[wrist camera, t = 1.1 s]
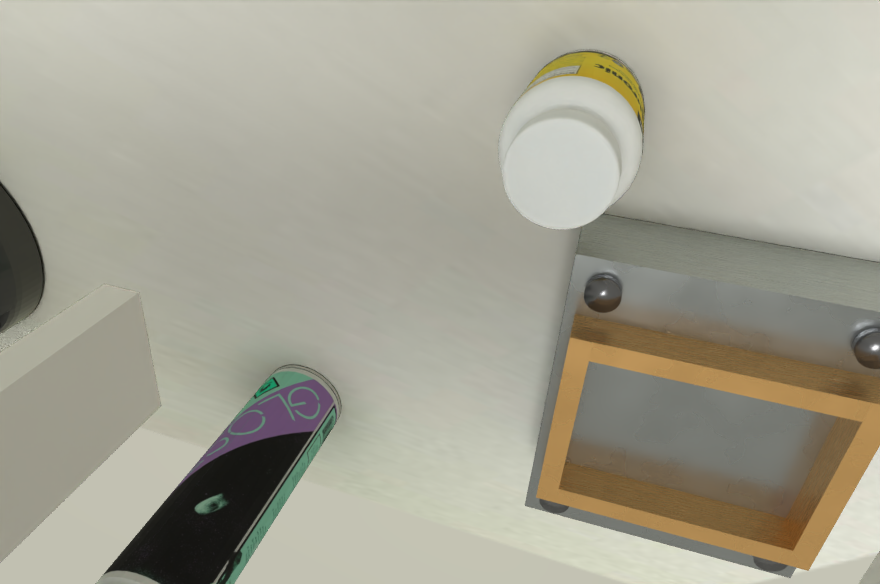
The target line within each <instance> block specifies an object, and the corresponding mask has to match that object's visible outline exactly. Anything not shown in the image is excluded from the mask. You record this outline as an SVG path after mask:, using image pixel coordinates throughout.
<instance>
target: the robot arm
mask: <svg viewBox="0 0 880 584" xmlns="http://www.w3.org/2000/svg"><path fill="white" fill-rule="evenodd" d="M42 286H43V273H42V265H41V260H40V256H39V252H38V249H37V246H36V243H35V241H34V238H33V236H32V234H31V231H30V229H29V227H28V225H27V223H26V222H25V220H24V218H23V216H22V215H21V213H20V211H19V210H18V208H17V207H16V205H15V204H14V202H13V201H12V200H11V198H10V197H9V196H8V194H7V193H6V192H5V191H4V189H3V188H2V187H1V186H0V334H1V333H3V332H4V331H6V330H7V329H9V328H11V327H12V326H14V325H15V324H17V323H19V322H20V321H22V320H23V319H25V318H26V317H28V316H29V315H30V314H31V313H32V312H33V311H34V309H35V308H36V306H37V304H38V302H39V300H40V297H41V293H42ZM160 407H161V402H160V396H159V391H158V386H157V381H156V376H155V371H154V365H153V360H152V355H151V350H150V345H149V340H148V334H147V329H146V324H145V319H144V314H143V309H142V303H141V298H140V293H139V292H136V291H132V290H128V289H124V288H120V287H116V286H111V285H107V284H103V285H102V286H100V287H99V288H97V289H96V290H94V291H93V292H91V293H90V294H88V295H87V296H85V297H83V298H82V299H80V300H79V301H77V302H76V303H74V304H73V305H71V306H70V307H68V308H67V309H65V310H64V311H62V312H61V313H59V314H58V315H56V316H55V317H53V318H52V319H50V320H49V321H47V322H46V323H44V324H42V325H41V326H39V327H38V328H36V329H35V330H33V331H32V332H30V333H29V334H27V335H26V336H24V337H23V338H21V339H20V340H18V341H17V342H15V343H14V344H12V345H11V346H9V347H8V348H6V349H5V350H3V351H2V352H0V563H1V562H2V561H3V560H4V559H5V558H6V557H7V556H8V555H9V554H10V553H11V552H12V551H13V550H14V549H15V548H16V547H17V546H18V545H19V544H20V543H21V542H22V541H23V540H24V539H25V538H26V537H27V536H28V535H30V533H31V532H33V530H35V529H36V528H37V527H38V526H39V525H40V524H41V523H42V522H43V521H44V520H45V519H46V518H47V517H48V516H49V515H50V514H51V513H52V512H53V511H54V510H55V509H56V508H57V507H58V506H59V505H60V504H61V503H62V502H63V501H64V500H65V499H66V498H67V497H68V496H69V495H70V494H71V493H72V492H74V491H75V490H76V488H77V487H79V486H80V485H81V484H82V483H83V482H84V481H85V480H86V479H87V478H88V477H89V476H90V475H91V474H92V473H93V472H94V471H95V470H96V469H97V468H98V467H99V466H100V465H101V464H102V463H103V462H104V461H105V460H106V459H107V458H108V457H109V456H110V455H111V454H112V453H113V452H114V451H116V449H118V447H120V445H122V444H123V443H124V442H125V441H126V440H127V439H128V438H129V437H130V436H131V435H132V434H133V433H134V432H135V431H136V430H137V429H138V428H139V427H140V426H141V425H142V424H143V423H144V422H145V421H146V420H147V419H148V418H149V417H150V416H151V415H152V414H153V413H154V412H155V411H156V410H158V409H159V408H160ZM859 584H880V551H879V553H878V554H877V556H876V558H875V559H874V560H873V562H872V564H871V565H870V567H869V568H868V570H867V571H866V573H865V575H864V576H863V578H862V579H861V581H860V582H859Z"/></svg>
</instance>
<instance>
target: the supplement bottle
mask: <svg viewBox="0 0 880 584" xmlns="http://www.w3.org/2000/svg"><path fill="white" fill-rule="evenodd" d="M644 113H645V107H644V98H643V93H642V89H641V86H640V84H639V82H638V80H637V78H636V76H635V75H634V73H633V72H632V71H631V70H630V68H629V67H628V66H627V65H626V64H624V63H623V62H622V61H621V60H619V59H618V58H616V57H614V56H612V55H610V54H608V53H605V52H601V51H596V50H580V51H574V52H570V53H567V54H564V55H562V56H560V57H558V58H556V59H555V60H553V61H551V62H550V63H549V64H547V65H546V66H545V67H544V68H543V69H542V70H541V71H540V72H539V73H538V74H537V75H536V76H535V78H534V79H533V81H532V82H531V83H530V84H529V86H528V87H527V88H526V90H525V91H524V92H523V94H522V95H521V96H520V98H519V99H518V100H517V101H516V103H515V104H514V105H513V107H512V108H511V110H510V111H509V113H508V115H507V117H506V119H505V121H504V124H503V126H502V129H501V133H500V137H499V145H498V155H499V163H500V167H501V171H502V174H503V184H504V188H505V191H506V194H507V196H508V198H509V200H510V202H511V203H512V205H513V206H514V207H515V209H516V210H517V211H518V212H519V213H520V214H521V215H523V216H524V217H525V218H526V219H528V220H529V221H531V222H533V223H535V224H537V225H539V226H542V227H546V228H549V229H556V230H565V229H573V228H577V227H581V226H584V225H586V224H588V223H590V222H592V221H593V220H595V219H596V218H598V217H599V216H600V215H601V214H602V213H603V212H604V211H605V210H606V209H607V208H608V207H609V206H611V205H612V204H614V203H615V202H616V201H617V200H618V199H620V198H621V197H622V196H623V194H624V193H625V192H626V191H627V190H628V188H629V187H630V186H631V184H632V182H633V181H634V179H635V177H636V175H637V172H638V169H639V166H640V162H641V157H642V153H643V133H644Z"/></svg>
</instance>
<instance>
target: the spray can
mask: <svg viewBox="0 0 880 584" xmlns="http://www.w3.org/2000/svg"><path fill="white" fill-rule="evenodd" d="M340 413H341V403H340V399H339V396H338V394H337V392H336V390H335V389H334V387H333V386H332V385H331V383H330V382H329V381H328V380H327V379H325V378H324V377H323V376H322V375H320V374H319V373H317V372H316V371H314V370H311V369H309V368H306V367H303V366H296V365H290V366H284V367H281V368H279V369H277V370H276V371H275V372H274V373H273V374H272V375H271V376H270V377H269V378H268V379H267V380H266V382H265V383H264V384H263V385H262V386H261V387H260V389H259V390H258V391H257V392H256V393H255V395H254V396H253V397H252V398H251V399H250V401H249V402H248V403H247V404H246V405H245V407H244V408H243V409H242V410H241V411H240V412H239V414H238V415H237V416H236V417H235V418H234V420H233V421H232V422H231V423H230V424H229V426H228V427H227V428H226V429H225V430H224V432H223V433H222V434H221V435H220V436H219V437H218V439H217V440H216V441H215V442H214V443H213V445H212V446H211V447H210V448H209V449H208V451H207V452H206V453H205V454H204V455H203V457H202V458H201V459H200V460H199V461H198V462H197V464H196V465H195V466H194V467H193V468H192V470H191V471H190V472H189V473H188V474H187V476H186V477H185V478H184V479H183V480H182V482H181V483H180V484H179V485H178V486H177V488H176V489H175V490H174V491H173V492H172V493H171V495H170V496H169V497H168V498H167V499H166V501H165V502H164V503H163V504H162V505H161V507H160V508H159V509H158V510H157V511H156V513H155V514H154V515H153V516H152V517H151V518H150V520H149V521H148V522H147V523H146V524H145V526H144V527H143V528H142V529H141V530H140V532H139V533H138V534H137V535H136V536H135V538H134V539H133V540H132V541H131V542H130V544H129V545H128V546H127V547H126V548H125V549H124V551H123V552H122V553H121V554H120V556H119V557H118V558H117V559H116V560H115V561H114V562H113V564H112V565H111V566H110V567H109V568H108V570H107V571H106V572H105V573H104V575H103V576H102V577H101V578H100V579H99V580H98V582H97V583H96V584H234V583H235V581H236V580H237V578H238V576H239V575H240V573H241V572H242V570H243V569H244V567H245V566H246V564H247V562H248V561H249V559H250V558H251V556H252V555H253V553H254V551H255V550H256V548H257V547H258V545H259V543H260V542H261V540H262V539H263V537H264V536H265V534H266V532H267V531H268V529H269V528H270V526H271V524H272V523H273V521H274V520H275V518H276V517H277V515H278V513H279V512H280V510H281V509H282V507H283V506H284V504H285V502H286V501H287V499H288V498H289V496H290V494H291V493H292V491H293V490H294V488H295V486H296V485H297V483H298V482H299V480H300V479H301V477H302V476H303V474H304V472H305V471H306V469H307V468H308V466H309V465H310V463H311V461H312V460H313V458H314V457H315V455H316V453H317V452H318V450H319V449H320V447H321V446H322V444H323V442H324V441H325V439H326V438H327V436H328V434H329V433H330V431H331V430H332V428H333V427H334V425H335V423H336V422H337V420H338V418H339V416H340Z"/></svg>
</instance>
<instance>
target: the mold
mask: <svg viewBox="0 0 880 584" xmlns="http://www.w3.org/2000/svg"><path fill="white" fill-rule="evenodd" d="M879 446H880V263H878V262H872V261H867V260H861V259H855V258H850V257H844V256H838V255H833V254H827V253H821V252H816V251H810V250H804V249H799V248H793V247H787V246H782V245H776V244H770V243H765V242H759V241H753V240H748V239H742V238H736V237H731V236H725V235H719V234H714V233H708V232H702V231H697V230H691V229H685V228H680V227H674V226H668V225H663V224H657V223H651V222H646V221H640V220H634V219H629V218H623V217H617V216H612V215H606V214H601V215H600V216H599V217H598V218H596V219H595V220H593V221H592V222H590V223H588V224H586V225H584V226H582V230H581V234H580V238H579V242H578V246H577V250H576V255H575V260H574V265H573V270H572V274H571V279H570V284H569V289H568V294H567V299H566V304H565V309H564V314H563V319H562V324H561V329H560V334H559V339H558V344H557V349H556V354H555V359H554V364H553V369H552V373H551V378H550V383H549V388H548V393H547V398H546V403H545V408H544V413H543V418H542V423H541V428H540V433H539V438H538V443H537V448H536V453H535V458H534V463H533V468H532V473H531V477H530V482H529V487H528V492H527V497H526V502H525V506H528V507H531V508H535V509H539V510H542V511H546V512H550V513H553V514H557V515H561V516H564V517H568V518H572V519H575V520H579V521H583V522H586V523H590V524H594V525H597V526H601V527H605V528H608V529H612V530H616V531H620V532H623V533H627V534H631V535H634V536H638V537H642V538H645V539H649V540H653V541H656V542H660V543H664V544H667V545H671V546H675V547H678V548H682V549H686V550H689V551H693V552H697V553H700V554H704V555H708V556H711V557H715V558H719V559H722V560H726V561H730V562H733V563H737V564H741V565H744V566H748V567H752V568H755V569H759V570H763V571H766V572H770V573H774V574H778V575H781V576H785V577H789V578H791V576H792V574H793V572H794V571H795V569H796V567H797V568H800V569H804V570H808V571H809V569H810V567H811V565H812V563H813V562H814V560H815V558H816V556H817V555H818V553H819V551H820V549H821V548H822V546H823V544H824V542H825V541H826V539H827V537H828V535H829V534H830V532H831V530H832V528H833V527H834V525H835V523H836V521H837V520H838V518H839V516H840V514H841V513H842V511H843V509H844V507H845V506H846V504H847V502H848V500H849V499H850V497H851V495H852V493H853V492H854V490H855V488H856V486H857V485H858V483H859V481H860V479H861V478H862V476H863V474H864V472H865V470H866V469H867V467H868V465H869V463H870V462H871V460H872V458H873V456H874V455H875V453H876V451H877V449H878V448H879Z"/></svg>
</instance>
